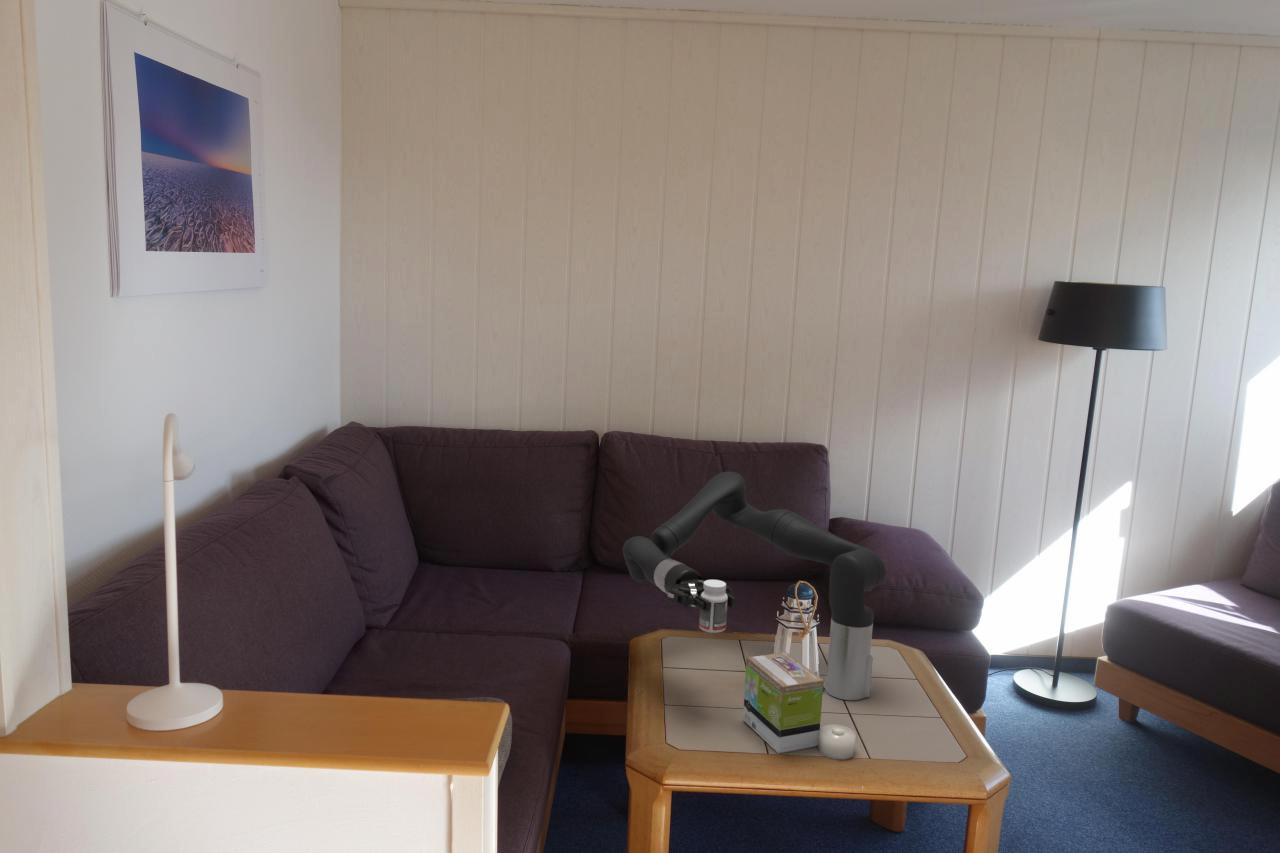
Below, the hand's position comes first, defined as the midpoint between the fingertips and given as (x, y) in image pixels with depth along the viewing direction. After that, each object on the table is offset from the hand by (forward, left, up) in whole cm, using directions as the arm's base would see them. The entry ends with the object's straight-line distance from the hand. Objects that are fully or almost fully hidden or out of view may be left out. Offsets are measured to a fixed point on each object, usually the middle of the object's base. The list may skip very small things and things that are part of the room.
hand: (720, 604), depth 205 cm
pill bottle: (+1, -2, -6) cm, 7 cm away
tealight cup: (-23, +13, -26) cm, 37 cm away
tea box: (-13, +6, -26) cm, 30 cm away
